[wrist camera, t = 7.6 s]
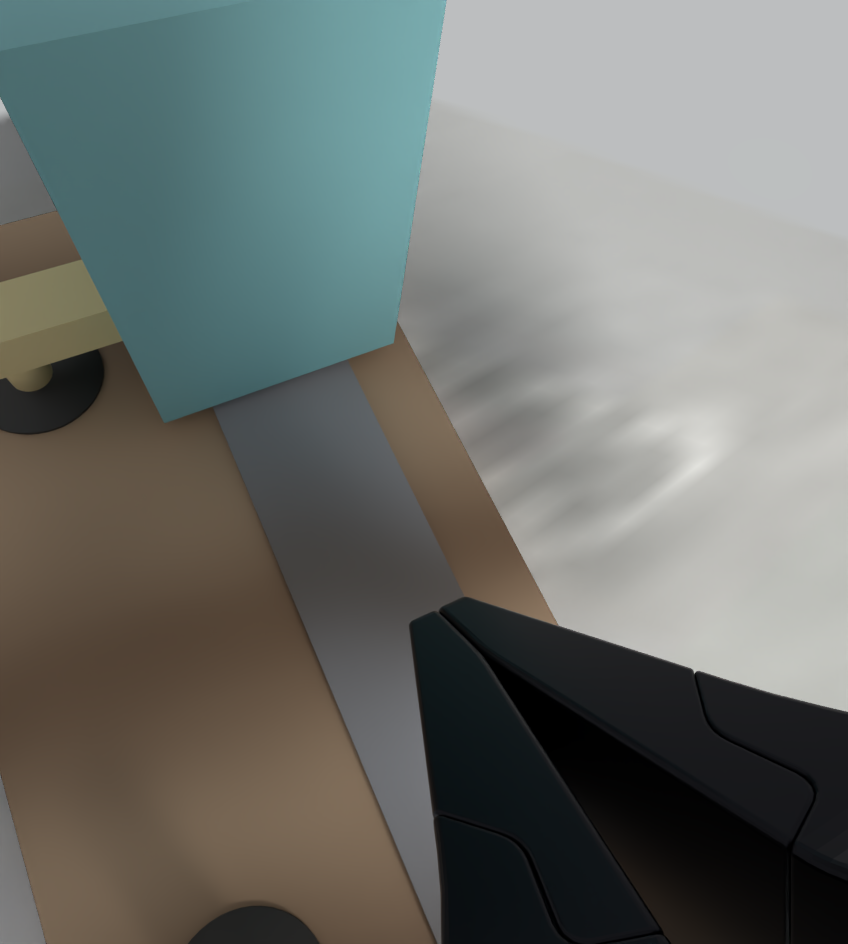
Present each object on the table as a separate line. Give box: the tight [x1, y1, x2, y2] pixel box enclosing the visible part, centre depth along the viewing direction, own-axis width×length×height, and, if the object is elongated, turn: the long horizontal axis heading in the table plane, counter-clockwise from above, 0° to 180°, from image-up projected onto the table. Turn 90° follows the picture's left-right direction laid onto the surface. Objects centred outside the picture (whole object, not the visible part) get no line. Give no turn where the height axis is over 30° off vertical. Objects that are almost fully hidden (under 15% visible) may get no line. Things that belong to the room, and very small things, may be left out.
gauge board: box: [0, 211, 558, 944], centre depth 13 cm, size 22×10×5 cm, turn 26°
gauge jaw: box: [0, 0, 446, 423], centre depth 11 cm, size 4×7×8 cm, turn 116°
